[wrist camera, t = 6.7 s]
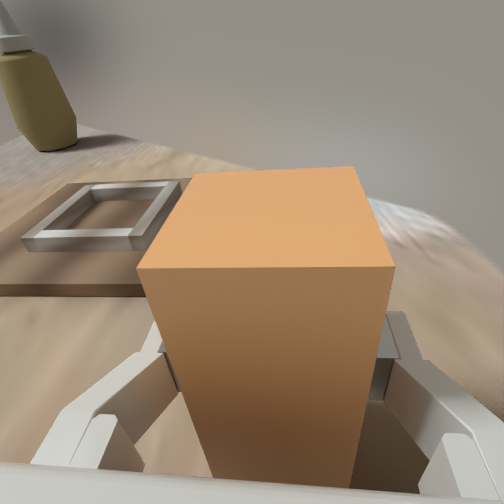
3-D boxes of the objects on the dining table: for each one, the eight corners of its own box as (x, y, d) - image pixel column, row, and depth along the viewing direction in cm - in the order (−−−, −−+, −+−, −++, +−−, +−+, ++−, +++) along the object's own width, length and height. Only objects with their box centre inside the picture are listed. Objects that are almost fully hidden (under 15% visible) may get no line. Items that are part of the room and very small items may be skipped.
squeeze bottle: (53, 156, 47) (-18, -3, 36) (17, 153, 50) (-57, 5, 39) (96, 139, 52) (46, -2, 42) (61, 137, 56) (7, 5, 45)
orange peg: (222, 501, 11) (135, 268, 5) (238, 391, 14) (195, 173, 9) (344, 512, 10) (394, 266, 5) (331, 395, 14) (353, 166, 8)
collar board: (-60, 295, 22) (-82, 269, 21) (71, 192, 35) (62, 172, 34) (201, 296, 19) (194, 267, 18) (237, 185, 32) (235, 164, 31)
